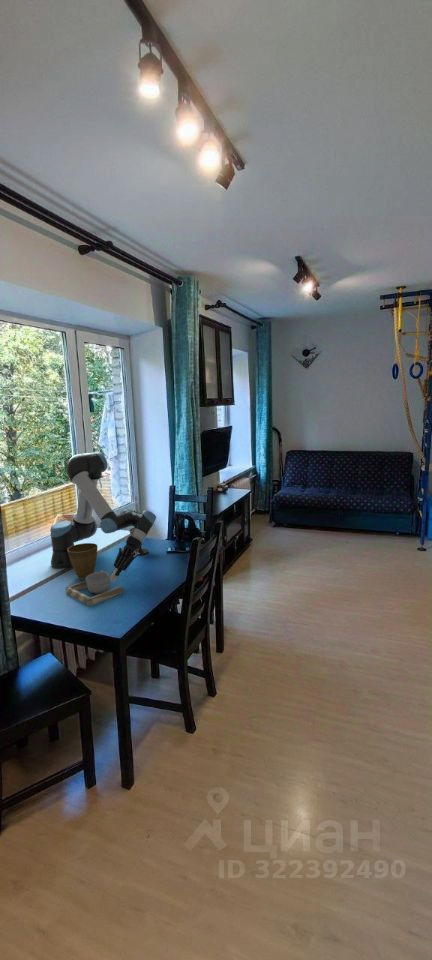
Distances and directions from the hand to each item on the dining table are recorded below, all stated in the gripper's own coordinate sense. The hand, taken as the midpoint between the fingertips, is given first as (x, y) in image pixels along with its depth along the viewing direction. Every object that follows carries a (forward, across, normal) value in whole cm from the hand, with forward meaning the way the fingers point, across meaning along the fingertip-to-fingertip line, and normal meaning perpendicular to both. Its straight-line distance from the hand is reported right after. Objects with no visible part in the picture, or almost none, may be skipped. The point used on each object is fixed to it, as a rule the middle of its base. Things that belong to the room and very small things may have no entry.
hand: (111, 581), depth 218 cm
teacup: (+6, +2, +1) cm, 6 cm away
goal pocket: (+8, +1, +4) cm, 9 cm away
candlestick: (-25, +29, -31) cm, 49 cm away
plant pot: (+3, +23, -2) cm, 24 cm away
